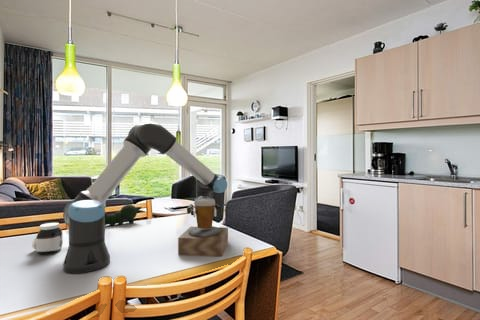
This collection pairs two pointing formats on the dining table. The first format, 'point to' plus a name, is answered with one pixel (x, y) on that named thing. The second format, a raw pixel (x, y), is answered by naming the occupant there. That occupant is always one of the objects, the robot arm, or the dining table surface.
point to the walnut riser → (203, 241)
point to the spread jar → (48, 239)
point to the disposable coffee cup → (204, 212)
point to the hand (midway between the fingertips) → (205, 213)
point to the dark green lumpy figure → (122, 215)
